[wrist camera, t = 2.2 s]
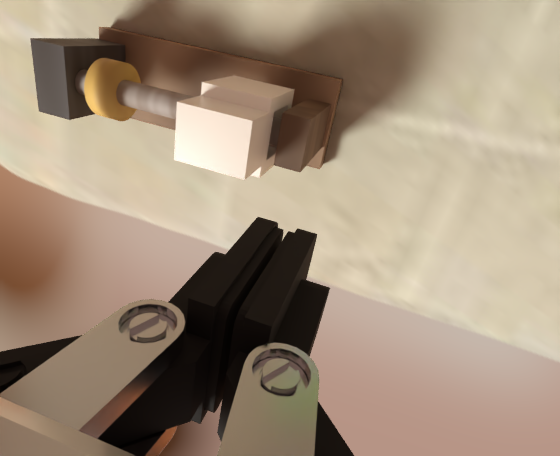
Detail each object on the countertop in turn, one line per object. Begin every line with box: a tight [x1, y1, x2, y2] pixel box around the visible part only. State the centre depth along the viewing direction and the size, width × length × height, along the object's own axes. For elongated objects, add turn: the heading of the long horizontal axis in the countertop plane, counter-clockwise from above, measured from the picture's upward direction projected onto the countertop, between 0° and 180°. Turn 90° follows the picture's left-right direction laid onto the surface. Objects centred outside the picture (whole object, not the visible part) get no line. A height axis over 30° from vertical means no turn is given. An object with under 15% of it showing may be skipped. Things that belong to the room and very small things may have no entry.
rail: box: [30, 27, 343, 172], centre depth 26 cm, size 18×6×7 cm, turn 79°
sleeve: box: [174, 76, 295, 180], centre depth 23 cm, size 4×4×7 cm
